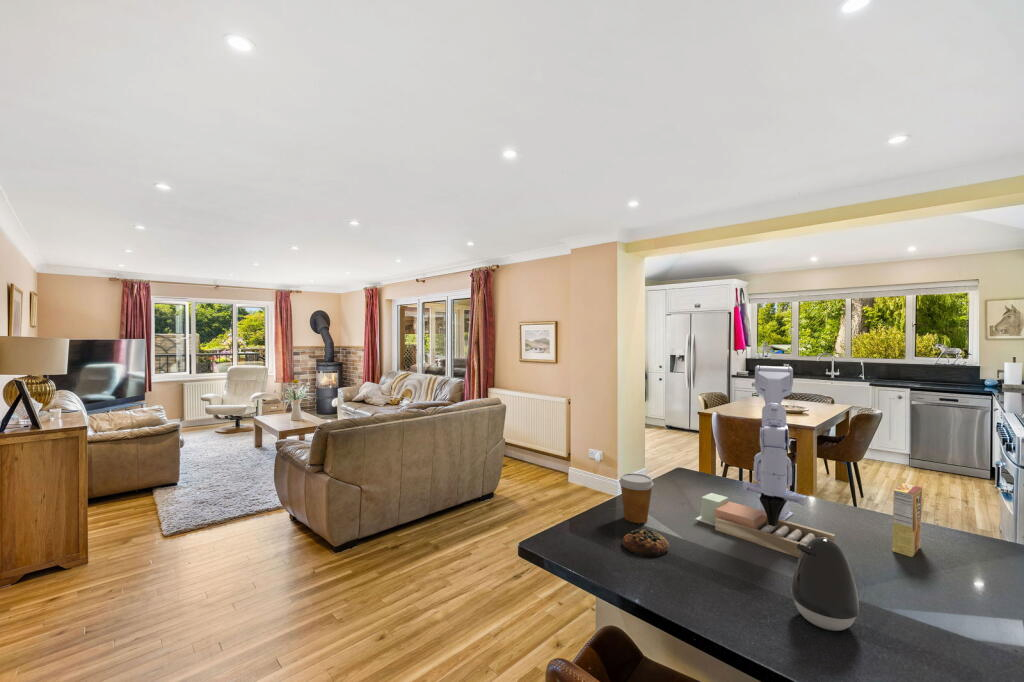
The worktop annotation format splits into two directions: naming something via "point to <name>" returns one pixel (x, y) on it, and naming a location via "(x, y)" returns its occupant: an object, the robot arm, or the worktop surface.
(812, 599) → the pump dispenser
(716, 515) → the slab
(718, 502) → the block
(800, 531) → the roller bed
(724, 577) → the worktop surface
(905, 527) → the candy box
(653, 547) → the bread roll
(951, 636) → the worktop surface
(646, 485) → the disposable coffee cup
